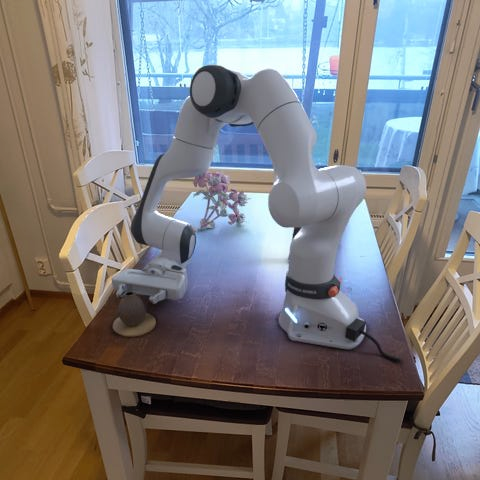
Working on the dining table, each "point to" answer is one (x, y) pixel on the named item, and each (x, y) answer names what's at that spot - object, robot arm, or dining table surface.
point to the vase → (131, 309)
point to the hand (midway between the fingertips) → (135, 298)
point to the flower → (220, 198)
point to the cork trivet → (136, 330)
